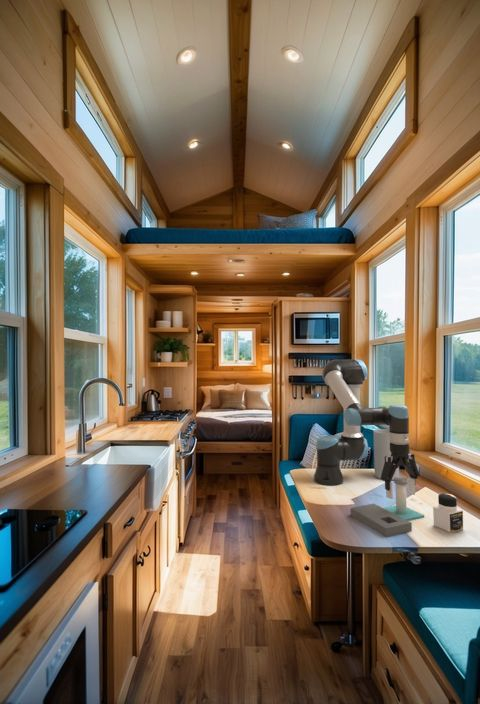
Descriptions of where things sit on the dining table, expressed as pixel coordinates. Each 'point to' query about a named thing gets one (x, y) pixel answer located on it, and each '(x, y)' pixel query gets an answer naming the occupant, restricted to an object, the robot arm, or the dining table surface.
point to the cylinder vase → (382, 451)
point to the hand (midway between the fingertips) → (400, 495)
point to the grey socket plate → (381, 519)
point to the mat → (409, 515)
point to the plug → (400, 494)
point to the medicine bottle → (448, 514)
